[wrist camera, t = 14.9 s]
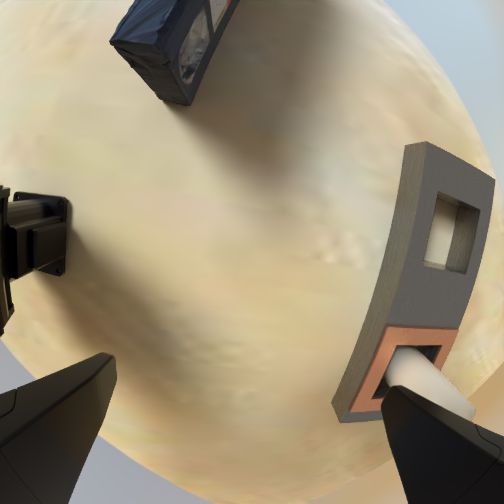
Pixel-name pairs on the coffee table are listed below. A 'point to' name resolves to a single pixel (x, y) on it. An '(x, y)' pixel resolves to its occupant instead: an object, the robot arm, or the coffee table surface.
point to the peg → (425, 380)
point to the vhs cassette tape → (172, 43)
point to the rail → (418, 276)
